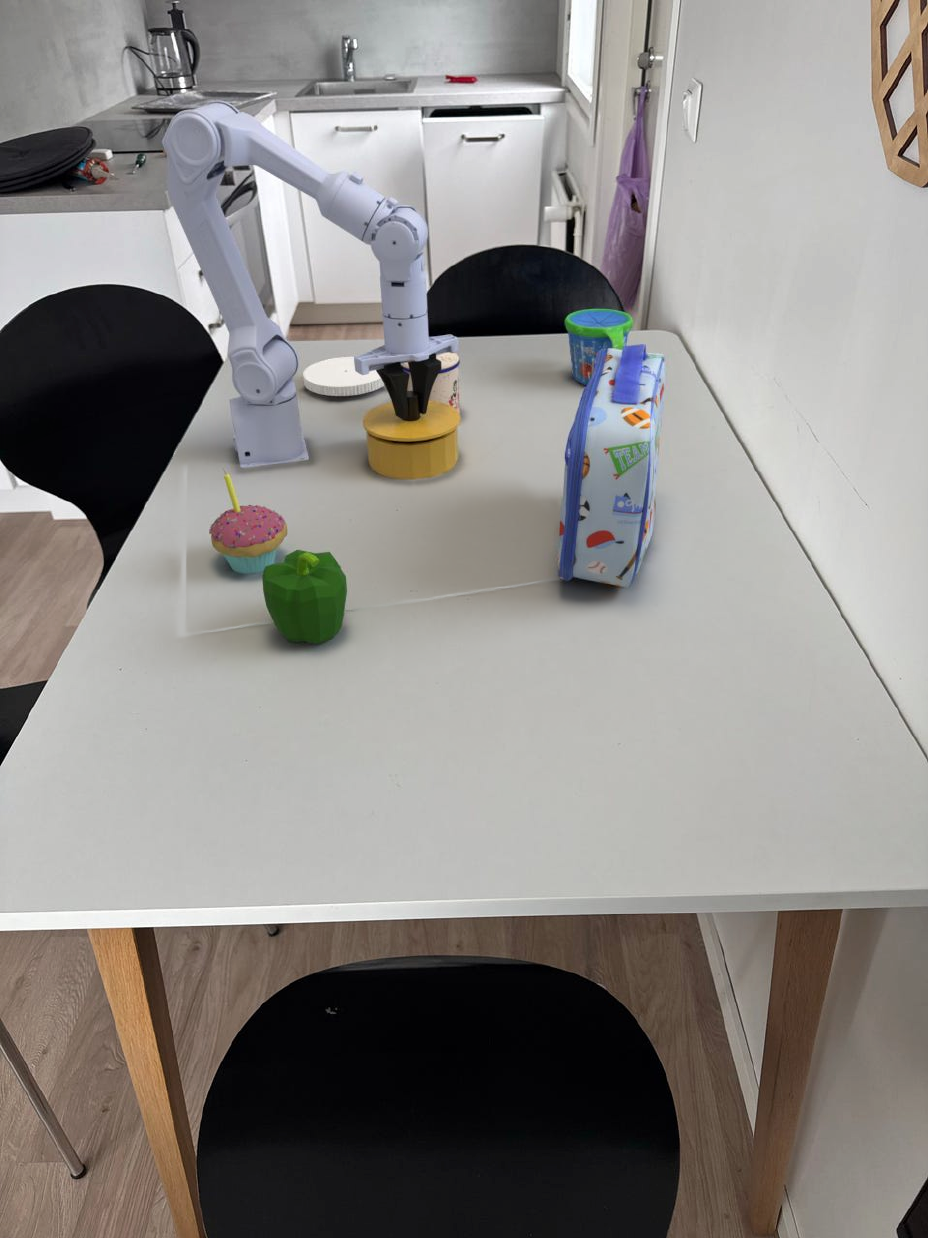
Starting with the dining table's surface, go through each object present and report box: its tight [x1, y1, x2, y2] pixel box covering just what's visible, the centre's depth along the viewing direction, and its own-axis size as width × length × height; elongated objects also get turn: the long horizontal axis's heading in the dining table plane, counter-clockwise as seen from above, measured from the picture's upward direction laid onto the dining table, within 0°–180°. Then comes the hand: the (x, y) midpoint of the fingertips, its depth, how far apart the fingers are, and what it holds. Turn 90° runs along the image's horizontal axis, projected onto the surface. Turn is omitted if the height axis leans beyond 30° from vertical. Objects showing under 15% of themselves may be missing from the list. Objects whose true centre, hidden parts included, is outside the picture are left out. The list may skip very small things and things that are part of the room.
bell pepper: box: [261, 549, 348, 645], centre depth 96 cm, size 8×8×10 cm
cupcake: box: [208, 467, 288, 575], centre depth 106 cm, size 9×8×12 cm
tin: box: [365, 427, 459, 480], centre depth 130 cm, size 12×12×5 cm
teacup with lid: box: [401, 352, 461, 414], centre depth 143 cm, size 12×9×12 cm
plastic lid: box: [302, 356, 385, 397], centre depth 156 cm, size 14×14×2 cm
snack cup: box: [564, 308, 634, 386], centre depth 153 cm, size 16×10×10 cm
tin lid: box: [361, 391, 461, 441], centre depth 127 cm, size 13×13×4 cm
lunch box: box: [557, 343, 666, 589], centre depth 106 cm, size 28×10×22 cm, turn 168°
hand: (410, 414), depth 127 cm, fingers closed on tin lid, 2 cm apart
